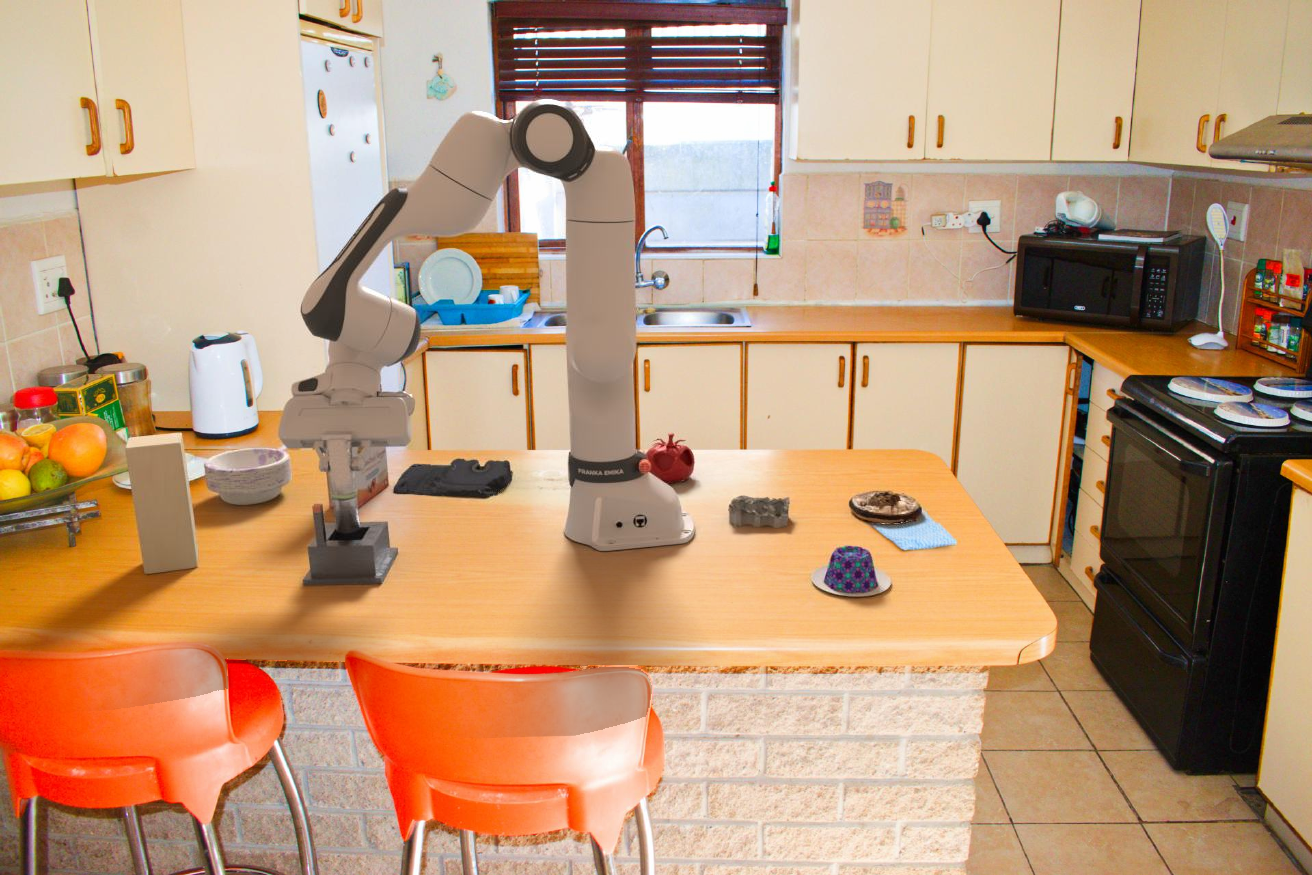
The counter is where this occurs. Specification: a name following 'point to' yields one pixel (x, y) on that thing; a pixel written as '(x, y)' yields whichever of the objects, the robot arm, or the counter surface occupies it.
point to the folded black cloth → (455, 479)
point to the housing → (348, 553)
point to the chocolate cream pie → (884, 507)
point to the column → (342, 480)
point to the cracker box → (367, 474)
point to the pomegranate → (671, 460)
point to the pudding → (851, 573)
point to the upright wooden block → (162, 502)
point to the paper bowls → (248, 474)
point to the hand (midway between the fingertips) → (340, 469)
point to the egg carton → (759, 511)
